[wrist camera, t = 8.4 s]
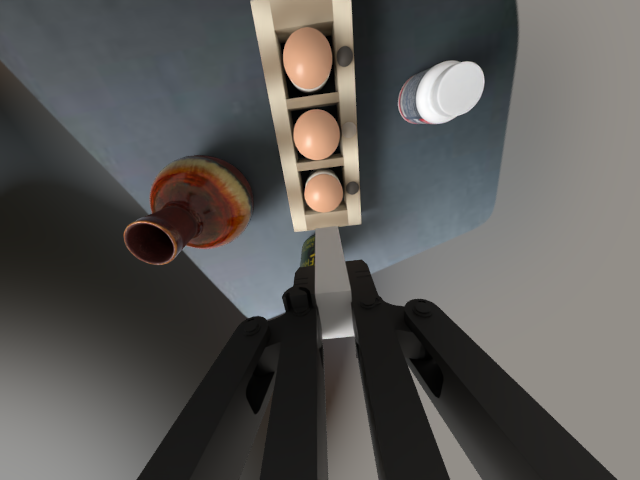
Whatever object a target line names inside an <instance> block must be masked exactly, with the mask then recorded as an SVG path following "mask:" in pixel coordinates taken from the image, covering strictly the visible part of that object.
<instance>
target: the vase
mask: <svg viewBox="0 0 640 480" xmlns="http://www.w3.org/2000/svg"><path fill="white" fill-rule="evenodd" d="M253 206H254V201H253V194H252V190H251V188H250V185H249V183H248V181H247V180H246V178H245V177H244V176H243V174H242V173H241V172H240V171H239V170H238V169H237V168H235V167H234V166H233V165H231V164H230V163H228V162H226V161H224V160H221V159H218V158H216V157H211V156H203V155H195V156H187V157H183V158H180V159H177V160H175V161H173V162H172V163H170V164H168V165H167V166H166V167H164V168H163V169H162V170H161V171H160V172H159V174H158V175H157V176H156V178H155V180H154V182H153V184H152V187H151V191H150V207H151V211H152V214H150V215H148V216H145V217H143V218H141V219H138V220H136V221H134V222H132V223H131V224H130V225H128V226H127V228H126V229H125V231H124V241H125V244H126V246H127V248H128V249H129V250H130V252H131V253H132V254H133V255H134V256H136V257H137V258H138V259H140V260H142V261H144V262H146V263H150V264H155V265H161V264H166V263H169V262H170V261H172V260H173V259H174V258H175V257H176V256H177V255H178V254H179V252H180V251H181V250H182V249H183V248H184V247H185V245H186V246H189V247H193V248H199V249H210V248H216V247H220V246H223V245H226V244H228V243H230V242H232V241H233V240H235V239H236V238H238V237H239V236H240V235H241V234H242V233H243V232H244V230H245V229H246V227H247V226H248V224H249V222H250V220H251V217H252V213H253Z"/></svg>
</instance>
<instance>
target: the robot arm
mask: <svg viewBox="0 0 640 480" xmlns="http://www.w3.org/2000/svg"><path fill="white" fill-rule="evenodd" d="M282 299H283V303H284V307H285V310H286V313H285V314H283V315H282V316H280V317H278V318H276V319H273V320H271V321H268V322H267V320H266V319H265V318H264V317H260V316H255V317H251V318H248V319H246V320H245V321H243V322H242V323H241V324H240V325H239V326H238V327H237V329H236V330H235V332H234V333H233V335H232V336H231V338H230V339H229V341H228V342H227V344H226V345H225V347H224V348H223V350H222V351H221V353H220V354H219V356H218V357H217V359H216V360H215V362H214V363H213V365H212V366H211V368H210V370H209V371H208V373H207V374H206V376H205V377H204V379H203V380H202V382H201V383H200V385H199V386H198V388H197V389H196V391H195V392H194V394H193V395H192V397H191V398H190V400H189V402H188V403H187V404H186V406H185V408H184V409H183V410H182V412H181V413H180V415H179V416H178V418H177V420H176V421H175V423H174V424H173V426H172V427H171V429H170V430H169V432H168V433H167V435H166V436H165V438H164V439H163V441H162V442H161V444H160V445H159V447H158V448H157V450H156V451H155V453H154V454H153V456H152V457H151V459H150V460H149V462H148V463H147V465H146V466H145V468H144V470H143V471H142V473H141V474H140V476H139V477H138V478H137V480H239V478H240V475H241V473H242V470H243V468H244V465H245V462H246V460H247V457H248V454H249V452H250V449H251V447H252V444H253V441H254V439H255V436H256V434H257V431H258V428H259V426H260V423H261V420H262V418H263V415H264V413H265V410H266V407H267V405H268V402H269V399H270V397H271V394H272V392H273V398H272V404H271V411H270V417H269V423H268V430H267V436H266V443H265V449H264V456H263V462H262V468H261V475H260V480H328V462H327V461H328V459H327V434H326V433H327V431H326V403H325V375H324V349H323V343H322V338H323V339H329V338H339V337H348V336H349V337H350V336H355V344H356V356H357V358H358V363H359V369H360V374H361V380H362V385H363V391H364V397H365V403H366V409H367V415H368V421H369V427H370V433H371V438H372V444H373V450H374V456H375V461H376V467H377V473H378V479H379V480H450V478H449V476H448V473H447V470H446V467H445V465H444V462H443V459H442V457H441V454H440V451H439V449H438V446H437V443H436V440H435V438H434V435H433V433H432V430H431V427H430V424H429V422H428V419H427V416H426V414H425V411H424V408H423V406H422V403H421V400H420V398H419V395H418V392H417V389H416V387H415V384H414V382H413V379H412V376H411V373H410V371H409V368H410V369H411V370H412V372H413V374H414V375H415V377H416V378H417V380H418V381H419V383H420V385H421V386H422V388H423V389H424V391H425V392H426V393H427V395H428V397H429V398H430V400H431V401H432V403H433V404H434V406H435V407H436V409H437V410H438V412H439V414H440V415H441V417H442V418H443V420H444V421H445V423H446V424H447V426H448V427H449V429H450V431H451V432H452V434H453V435H454V437H455V438H456V440H457V441H458V443H459V444H460V446H461V448H462V449H463V450H464V452H465V454H466V455H467V457H468V458H469V460H470V461H471V463H472V464H473V466H474V468H475V469H476V471H477V472H478V474H479V475H480V477H481V478H482V480H617V479H616V478H615V477H614V476H613V475H612V474H611V473H610V472H609V471H608V470H607V469H606V468H605V467H604V466H603V465H602V464H601V463H599V461H597V460H596V459H595V458H594V457H593V456H592V455H591V454H590V453H589V452H588V451H587V450H586V449H585V448H584V447H583V446H582V445H581V444H580V443H579V442H578V441H577V440H576V439H575V438H574V437H572V435H571V434H569V433H568V432H567V431H566V430H565V429H564V428H563V427H562V426H561V425H560V424H559V423H558V422H557V421H556V420H555V419H554V418H553V417H552V416H551V415H550V414H549V413H548V412H547V411H546V410H545V409H543V408H542V407H541V406H540V405H539V404H538V403H537V402H536V401H535V400H534V399H533V398H532V397H531V396H530V395H529V394H528V393H527V392H526V391H525V390H524V389H523V388H522V387H521V386H520V385H518V383H517V382H515V381H514V380H513V379H512V378H511V377H510V376H509V375H508V374H507V373H506V372H505V371H504V370H503V369H502V368H501V367H500V366H499V365H498V364H497V363H496V362H495V361H494V360H493V359H492V358H491V357H490V356H489V355H488V354H487V353H485V352H484V351H483V350H482V349H481V348H480V347H479V346H478V345H477V344H476V343H475V342H474V341H473V340H472V339H471V338H470V337H469V336H468V335H467V334H466V333H465V332H464V331H463V330H462V329H461V328H460V327H458V326H457V325H456V324H455V323H454V322H453V321H452V320H451V319H450V318H449V317H448V316H447V315H446V314H445V313H444V312H443V311H442V310H441V309H440V308H439V307H438V306H437V305H435V304H434V303H432V302H430V301H427V300H424V299H414V300H411V301H409V302H407V303H406V305H405V307H403V306H396V305H392V304H389V303H386V302H385V301H383V300H382V298H381V297H380V296H379V295H378V293H377V291H376V288H375V285H374V282H373V279H372V277H371V274H370V271H369V268H368V265H367V264H366V263H365V262H364V261H363V260H354V261H345V259H344V254H343V249H342V244H341V239H340V234H339V230H338V226H333V227H324V228H316V229H315V266H306V267H299V269H298V270H297V271H296V272H295V277H294V285H293V287H291V288H289V289H288V290H287V291H286V292H284V294H283V296H282ZM408 366H409V368H408ZM273 389H274V391H273Z"/></svg>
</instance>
